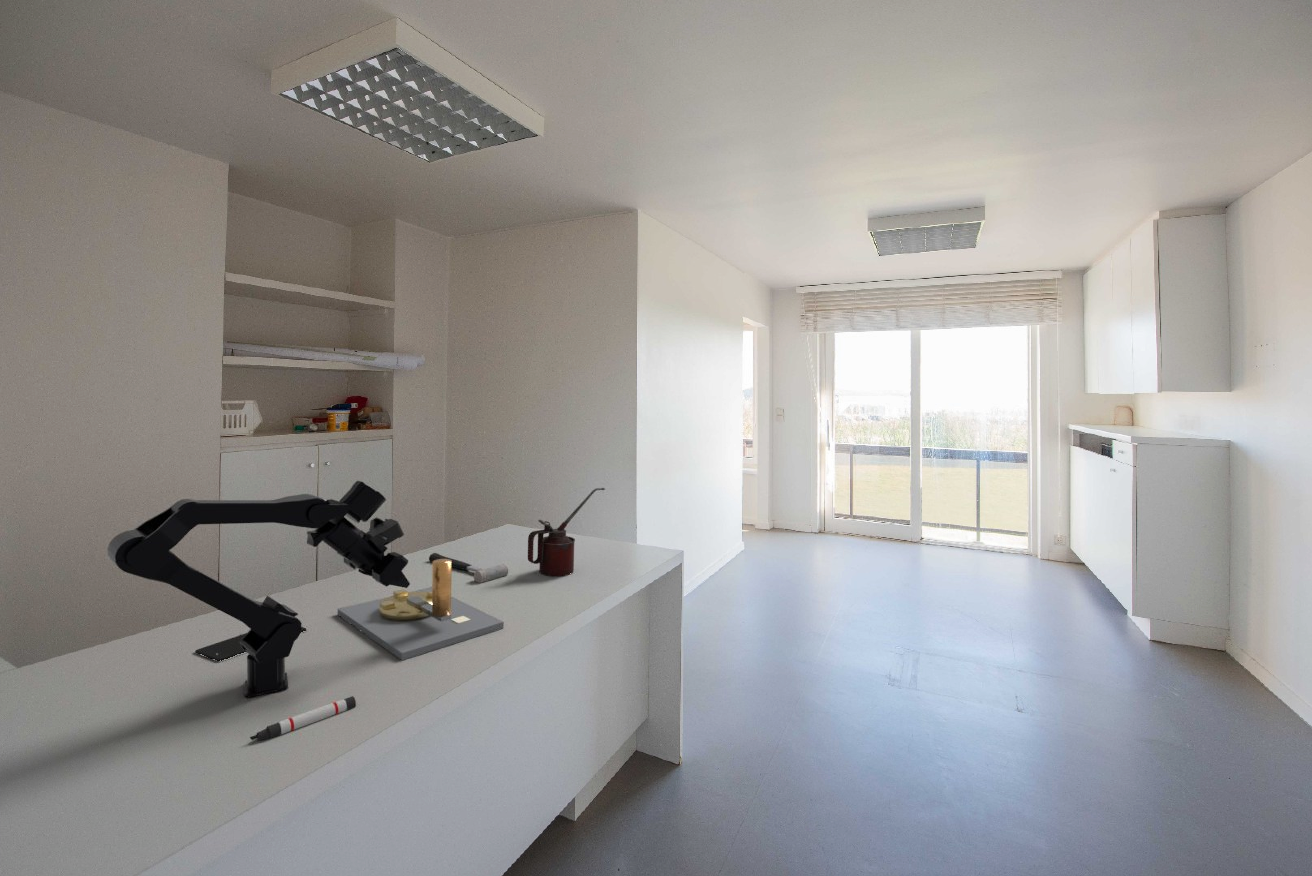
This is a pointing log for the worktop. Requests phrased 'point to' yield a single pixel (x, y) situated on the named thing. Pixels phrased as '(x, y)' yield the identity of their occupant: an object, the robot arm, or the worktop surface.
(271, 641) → the robot arm
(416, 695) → the worktop surface
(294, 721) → the marker
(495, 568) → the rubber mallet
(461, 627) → the grey rectangular board
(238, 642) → the cell phone
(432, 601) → the brass wheel crank mechanism
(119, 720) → the worktop surface
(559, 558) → the oil can
